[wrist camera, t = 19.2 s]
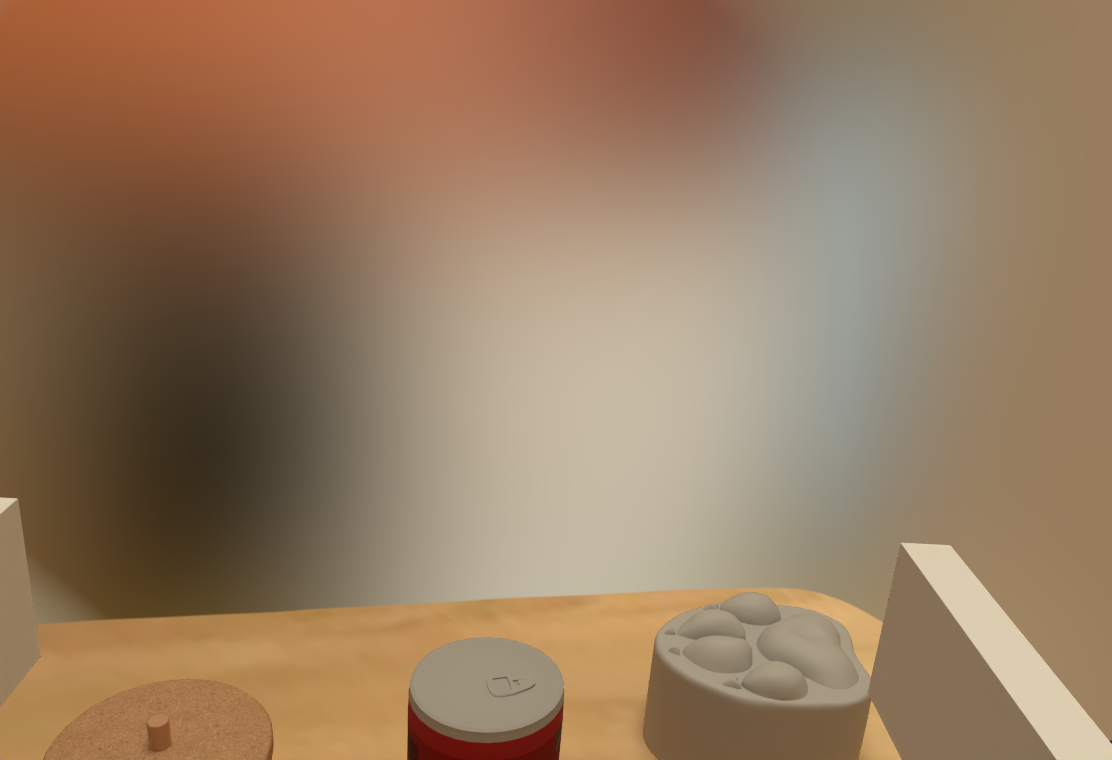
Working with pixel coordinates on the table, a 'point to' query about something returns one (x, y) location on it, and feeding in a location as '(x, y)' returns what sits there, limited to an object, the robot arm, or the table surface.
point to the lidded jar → (170, 725)
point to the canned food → (485, 703)
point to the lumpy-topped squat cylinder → (755, 685)
